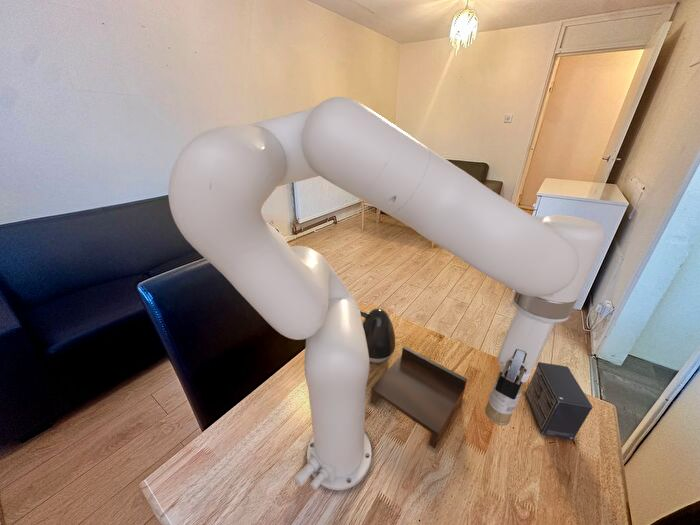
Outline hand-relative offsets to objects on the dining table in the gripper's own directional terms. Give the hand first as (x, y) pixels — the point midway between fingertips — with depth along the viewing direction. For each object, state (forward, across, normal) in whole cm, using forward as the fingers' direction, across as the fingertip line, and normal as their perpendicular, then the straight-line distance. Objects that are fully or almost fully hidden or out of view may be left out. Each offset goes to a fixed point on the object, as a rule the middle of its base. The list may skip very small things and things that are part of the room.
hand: (509, 383), depth 51 cm
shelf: (+17, +1, -15) cm, 23 cm away
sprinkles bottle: (+9, 0, 0) cm, 9 cm away
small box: (+17, -15, +9) cm, 24 cm away
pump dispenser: (+17, -5, -31) cm, 36 cm away
